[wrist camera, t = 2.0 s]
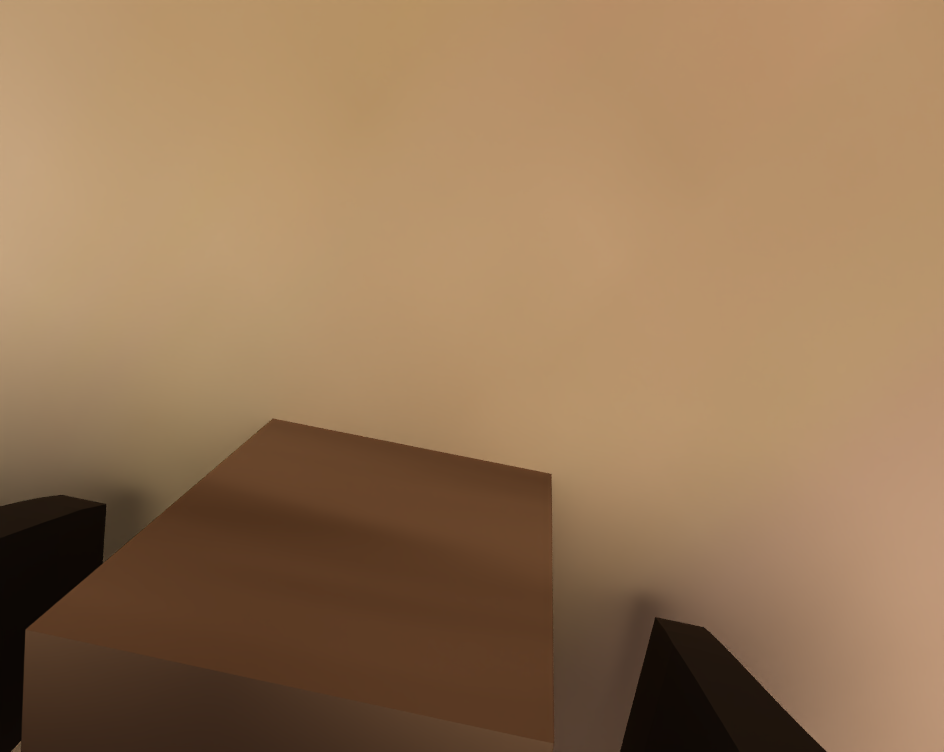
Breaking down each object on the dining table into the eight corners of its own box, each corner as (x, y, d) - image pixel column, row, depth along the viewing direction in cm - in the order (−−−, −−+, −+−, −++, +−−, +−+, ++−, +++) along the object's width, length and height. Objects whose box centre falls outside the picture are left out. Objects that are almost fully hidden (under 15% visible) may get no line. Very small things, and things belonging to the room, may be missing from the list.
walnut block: (499, 716, 12) (460, 1138, 7) (245, 661, 12) (11, 1029, 7) (551, 473, 11) (553, 743, 6) (273, 418, 11) (25, 629, 6)
